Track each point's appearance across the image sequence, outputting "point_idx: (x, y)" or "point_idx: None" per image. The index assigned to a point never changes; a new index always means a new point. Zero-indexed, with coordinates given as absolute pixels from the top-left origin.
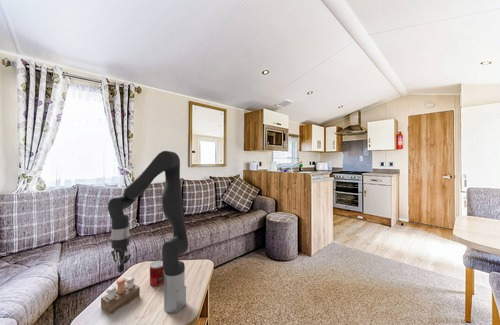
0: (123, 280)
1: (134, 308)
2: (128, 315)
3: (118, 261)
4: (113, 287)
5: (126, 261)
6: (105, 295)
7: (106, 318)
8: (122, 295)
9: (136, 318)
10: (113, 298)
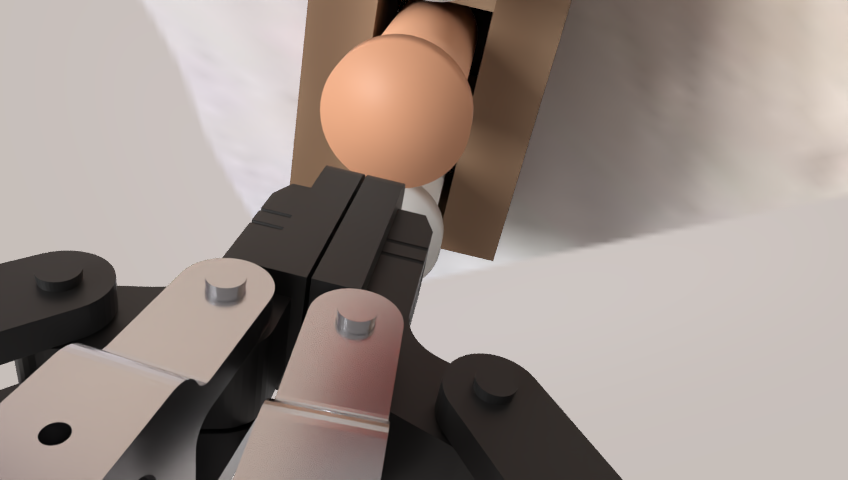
0: (441, 111)
1: (696, 62)
2: (700, 164)
3: (235, 468)
4: None
5: (547, 456)
6: (292, 167)
7: (504, 242)
8: (509, 109)
9: (822, 176)
10: (442, 183)
